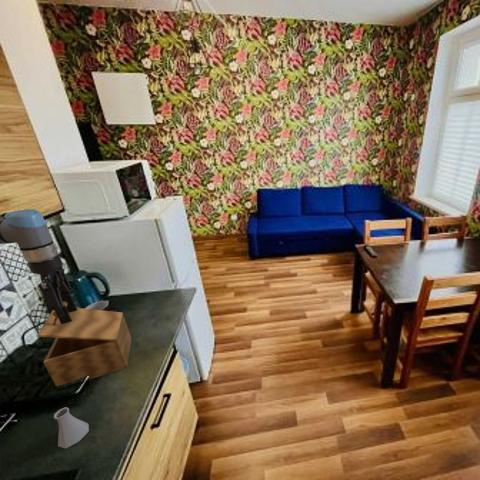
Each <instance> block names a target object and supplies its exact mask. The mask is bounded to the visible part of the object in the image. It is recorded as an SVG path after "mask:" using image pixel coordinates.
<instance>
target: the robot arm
mask: <svg viewBox="0 0 480 480" xmlns="http://www.w3.org/2000/svg"><path fill="white" fill-rule="evenodd" d="M7 244H8V245H9V244H17V246H18V248H19V251H20V252H21V255H22V257H23V259H24V261H25V262H26V263H27V266H28V269H29V271H30V272H31V274H35V275H39V276H40V282H41V283H38V285H37V286H38V289H39V290H40V291H41V294H42V296H43V298H44V301H45V303H46V305H47V307H48V310H49V311H50V312H52V311H53V310H55V312H56V314H57V316H58V319H59V321H60V323H61V324H65V323H69V322H72V319H71V317H70V315H69V313H70V312H74V311H77V308H78V307H77V306H76V303H75V301H74V298H73V296H72V295H73V294H74V293H75V292H74V290H73V288H72V286H71V284H70V281H69V279H68V277H67V275H66V274H65V271H64V267H63V265H64V263H63V261H62V258H61V256H60V254H59V252H58V248H59V247H58V245H55V242H54V239H53V238H52V236H51V233H50V230H49V226H48V225H47V221H46V220H45V218H44V217H43V214H42V213H41V211H40V210H38V209H34V208H33V209H32V208H27V209H19V210H13V211H10V212H7V213H6V214H5V215H4V218H0V245H7ZM62 301H65V302H67V303H68V305H67V307H66V306H65V305H63V302H62Z"/></svg>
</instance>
